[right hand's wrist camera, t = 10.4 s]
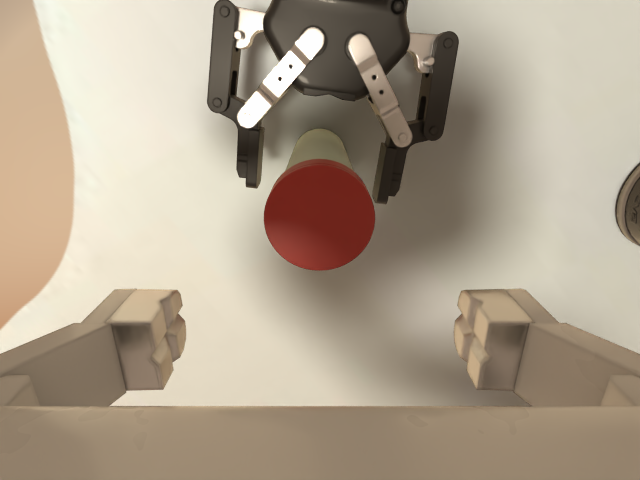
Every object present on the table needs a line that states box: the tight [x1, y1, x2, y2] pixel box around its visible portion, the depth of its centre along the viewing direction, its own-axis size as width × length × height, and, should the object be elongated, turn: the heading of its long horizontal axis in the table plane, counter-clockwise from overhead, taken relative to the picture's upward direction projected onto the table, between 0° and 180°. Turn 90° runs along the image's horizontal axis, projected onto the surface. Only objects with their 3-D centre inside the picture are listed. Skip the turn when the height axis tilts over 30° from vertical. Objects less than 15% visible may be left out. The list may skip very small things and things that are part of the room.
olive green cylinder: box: [286, 128, 353, 170], centre depth 25 cm, size 4×4×16 cm
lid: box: [264, 159, 375, 270], centre depth 17 cm, size 5×5×2 cm
